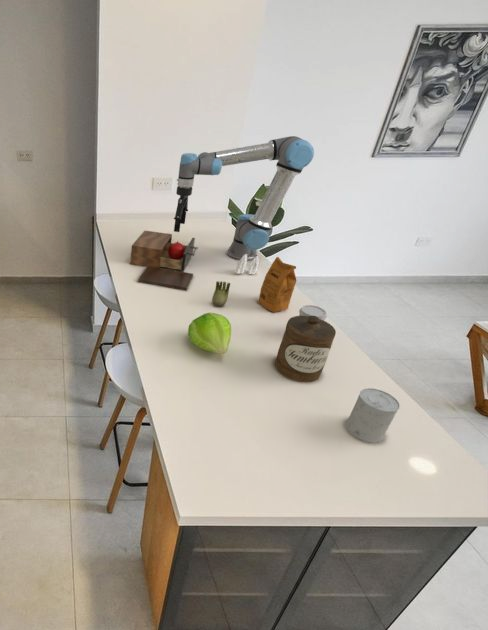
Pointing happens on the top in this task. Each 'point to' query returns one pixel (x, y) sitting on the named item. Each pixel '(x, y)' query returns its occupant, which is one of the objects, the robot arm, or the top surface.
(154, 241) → the cabinet
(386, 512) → the top surface
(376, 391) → the grey metal can
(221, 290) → the fennel bulb
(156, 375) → the top surface
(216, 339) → the lettuce
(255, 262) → the shaker set
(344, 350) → the top surface
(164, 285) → the board
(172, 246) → the apple
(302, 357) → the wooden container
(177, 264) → the drawer
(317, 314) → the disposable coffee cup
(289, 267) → the coffee package
